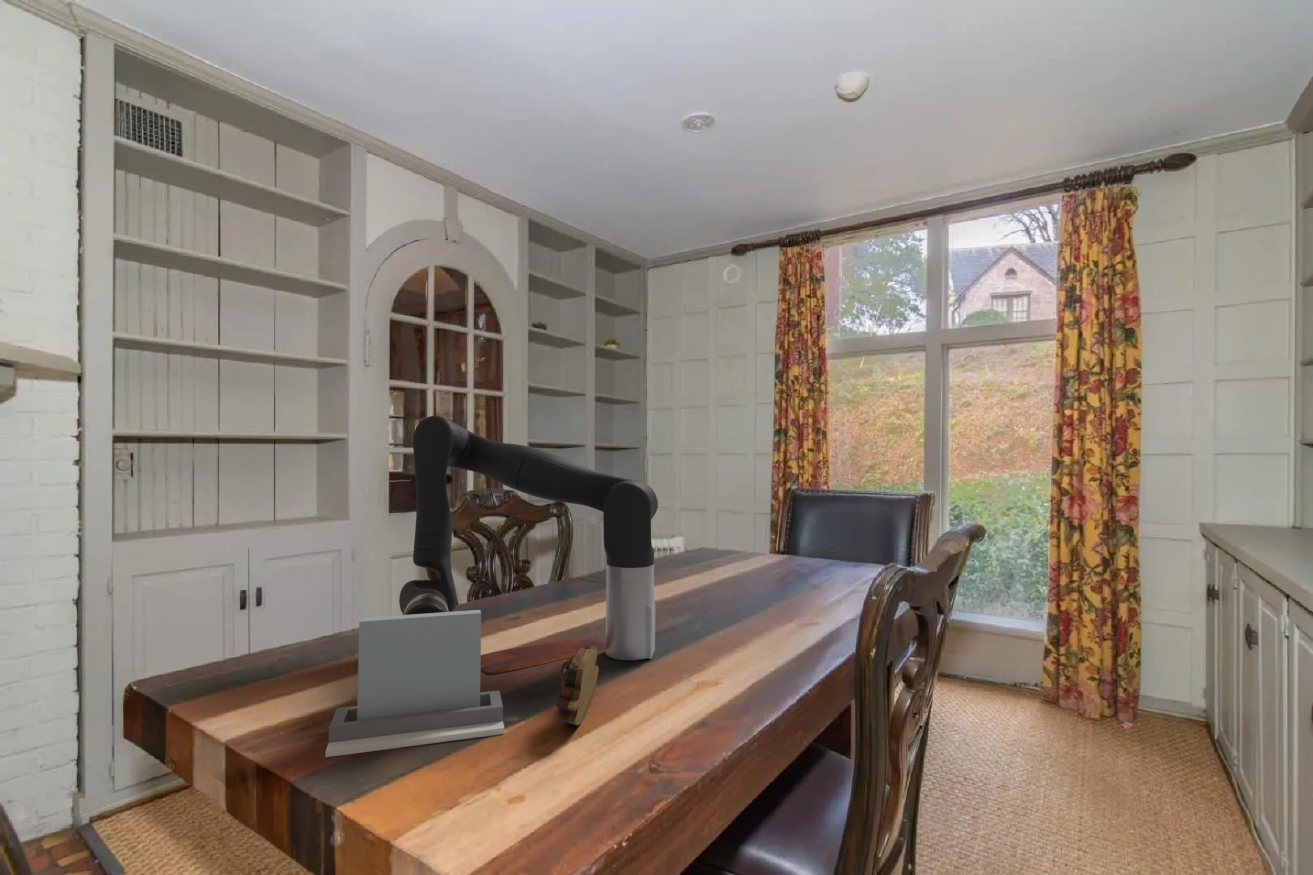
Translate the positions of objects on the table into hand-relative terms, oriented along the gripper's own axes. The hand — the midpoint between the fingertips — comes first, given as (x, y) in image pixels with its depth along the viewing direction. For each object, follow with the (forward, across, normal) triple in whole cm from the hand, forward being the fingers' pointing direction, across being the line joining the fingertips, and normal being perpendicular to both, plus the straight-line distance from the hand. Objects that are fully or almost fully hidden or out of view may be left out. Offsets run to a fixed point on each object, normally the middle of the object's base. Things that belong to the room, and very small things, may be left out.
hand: (422, 647), depth 91 cm
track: (+4, 0, +10) cm, 11 cm away
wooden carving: (+7, +22, +10) cm, 25 cm away
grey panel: (+1, 0, +9) cm, 9 cm away
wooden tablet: (-23, +21, +11) cm, 33 cm away
